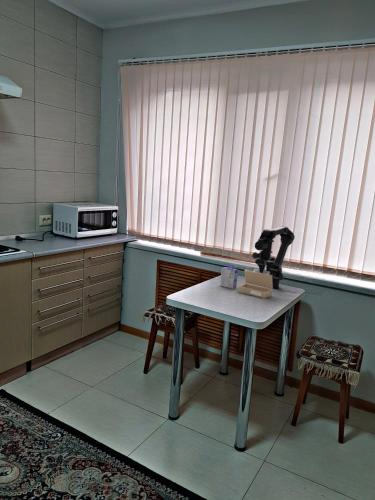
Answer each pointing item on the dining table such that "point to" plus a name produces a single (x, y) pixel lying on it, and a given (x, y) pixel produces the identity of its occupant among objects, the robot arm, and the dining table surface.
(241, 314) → the dining table surface
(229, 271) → the ink cartridge box
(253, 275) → the flap
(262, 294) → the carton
